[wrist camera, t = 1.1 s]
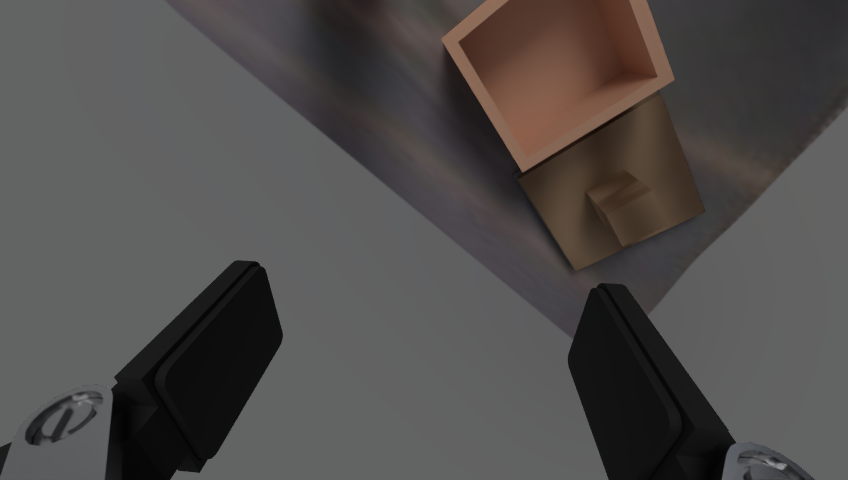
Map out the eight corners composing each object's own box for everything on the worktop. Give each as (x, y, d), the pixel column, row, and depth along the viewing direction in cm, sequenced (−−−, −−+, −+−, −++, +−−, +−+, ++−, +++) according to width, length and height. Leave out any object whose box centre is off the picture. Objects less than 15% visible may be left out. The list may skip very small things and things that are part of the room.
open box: (575, -71, 23) (609, -104, 18) (633, 73, 27) (674, 79, 22) (443, 40, 27) (440, 39, 22) (511, 151, 31) (522, 172, 26)
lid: (655, 92, 27) (700, 103, 22) (700, 208, 32) (745, 238, 27) (517, 176, 32) (528, 201, 27) (573, 267, 36) (592, 302, 31)
